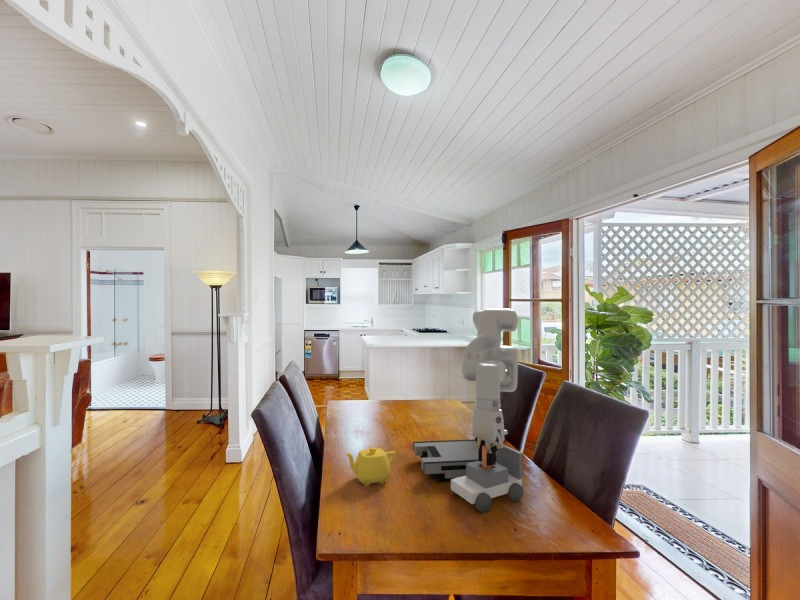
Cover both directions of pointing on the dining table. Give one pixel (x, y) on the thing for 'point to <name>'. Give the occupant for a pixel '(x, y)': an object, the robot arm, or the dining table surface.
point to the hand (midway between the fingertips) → (486, 462)
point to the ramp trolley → (491, 480)
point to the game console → (446, 457)
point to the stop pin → (485, 457)
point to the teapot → (372, 465)
